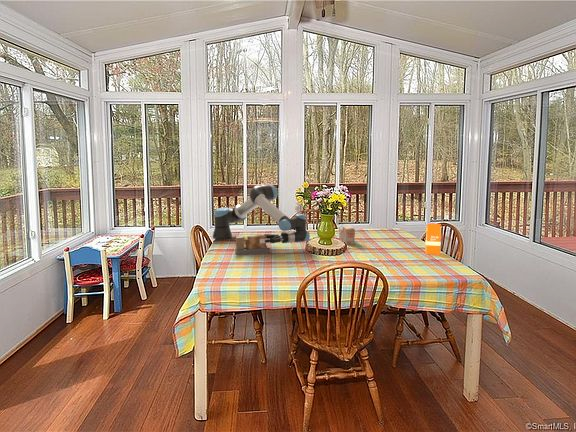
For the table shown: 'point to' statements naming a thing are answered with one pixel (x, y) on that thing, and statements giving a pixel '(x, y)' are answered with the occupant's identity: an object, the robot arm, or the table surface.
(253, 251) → the base rail
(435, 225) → the orange juice
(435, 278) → the table surface
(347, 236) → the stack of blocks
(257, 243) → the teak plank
